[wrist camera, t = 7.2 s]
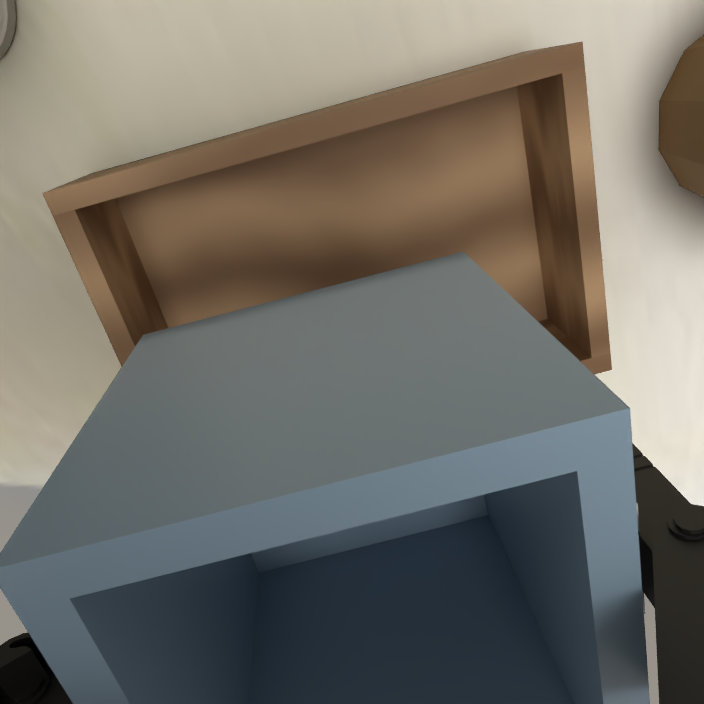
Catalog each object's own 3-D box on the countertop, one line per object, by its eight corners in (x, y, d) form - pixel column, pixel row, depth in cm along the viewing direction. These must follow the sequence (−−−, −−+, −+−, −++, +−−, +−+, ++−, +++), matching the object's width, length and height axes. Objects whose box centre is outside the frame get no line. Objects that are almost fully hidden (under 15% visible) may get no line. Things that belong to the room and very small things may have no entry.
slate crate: (143, 334, 17) (-12, 570, 8) (463, 251, 16) (630, 407, 8) (244, 579, 20) (206, 914, 12) (508, 512, 20) (656, 806, 12)
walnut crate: (91, 173, 33) (42, 193, 26) (524, 51, 32) (582, 41, 26) (196, 422, 39) (177, 487, 33) (558, 323, 39) (611, 369, 32)
